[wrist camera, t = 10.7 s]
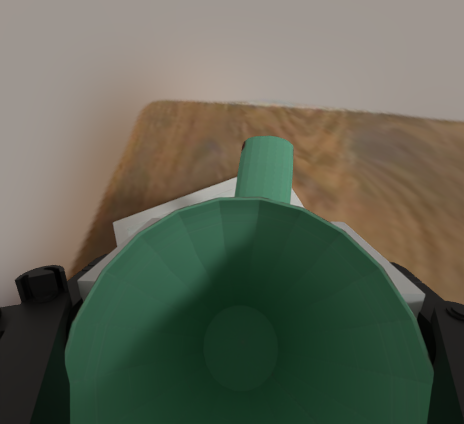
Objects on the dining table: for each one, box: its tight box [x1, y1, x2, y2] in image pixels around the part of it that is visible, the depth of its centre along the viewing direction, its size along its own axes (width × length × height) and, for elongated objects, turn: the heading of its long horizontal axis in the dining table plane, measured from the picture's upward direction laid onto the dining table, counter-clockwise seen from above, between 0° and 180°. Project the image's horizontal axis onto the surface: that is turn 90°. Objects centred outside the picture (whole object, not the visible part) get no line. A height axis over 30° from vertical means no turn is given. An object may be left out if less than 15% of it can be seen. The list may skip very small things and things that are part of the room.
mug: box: [65, 136, 434, 424], centre depth 12 cm, size 15×10×10 cm
